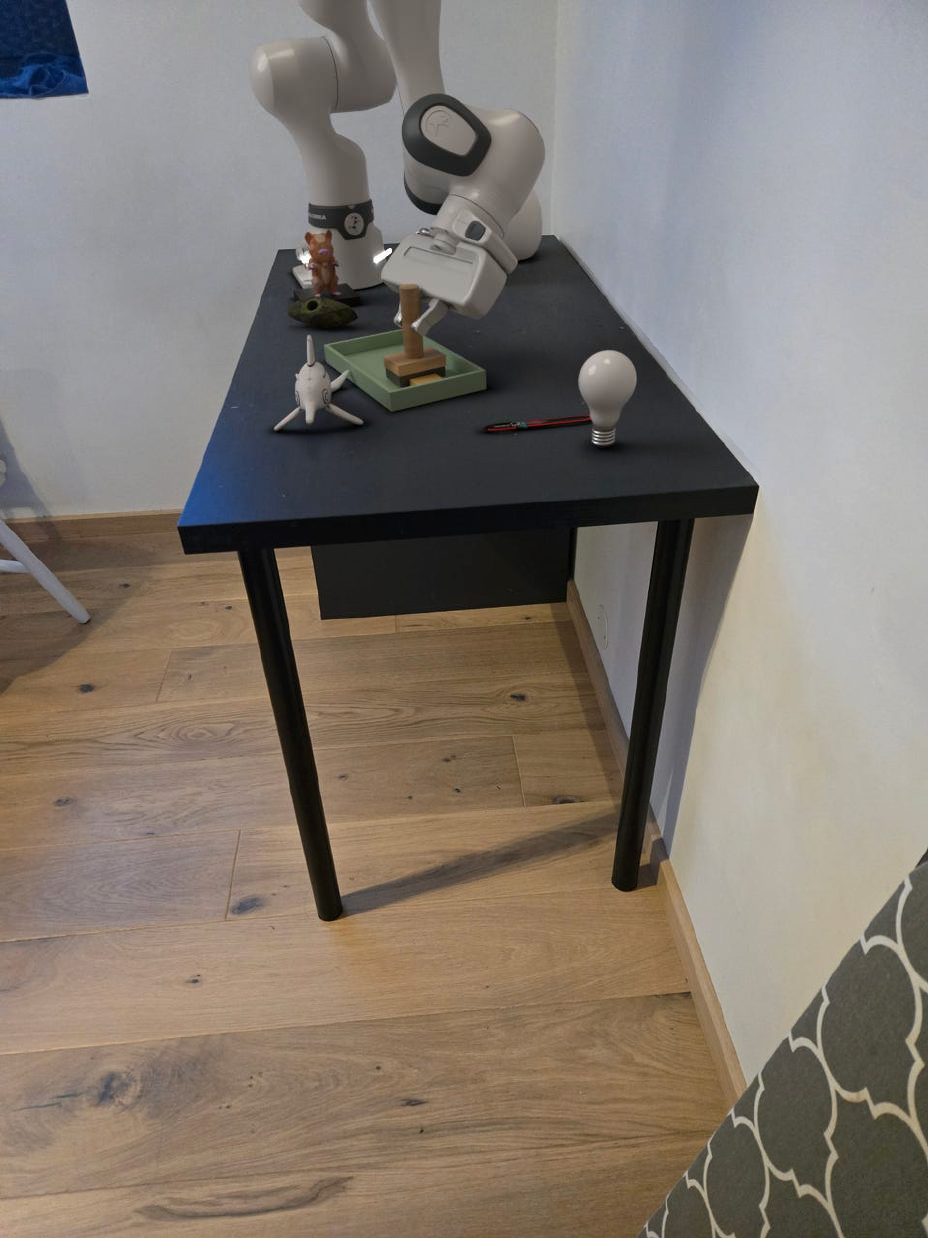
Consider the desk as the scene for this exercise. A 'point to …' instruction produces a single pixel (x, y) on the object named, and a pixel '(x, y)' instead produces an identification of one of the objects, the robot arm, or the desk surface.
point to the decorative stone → (321, 312)
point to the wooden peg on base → (412, 345)
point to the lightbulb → (606, 392)
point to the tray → (371, 377)
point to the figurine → (325, 273)
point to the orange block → (424, 379)
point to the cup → (525, 229)
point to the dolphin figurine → (315, 391)
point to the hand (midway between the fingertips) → (408, 329)
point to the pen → (533, 423)
